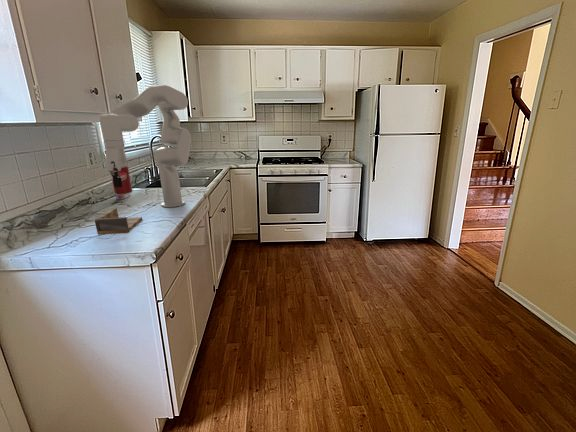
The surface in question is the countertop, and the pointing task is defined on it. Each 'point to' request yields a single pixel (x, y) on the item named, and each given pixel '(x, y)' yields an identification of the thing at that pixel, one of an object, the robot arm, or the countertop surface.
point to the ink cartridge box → (122, 196)
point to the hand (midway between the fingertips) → (122, 184)
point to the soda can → (123, 182)
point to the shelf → (115, 223)
